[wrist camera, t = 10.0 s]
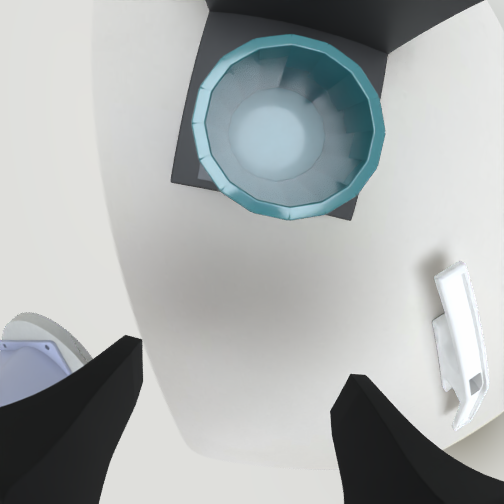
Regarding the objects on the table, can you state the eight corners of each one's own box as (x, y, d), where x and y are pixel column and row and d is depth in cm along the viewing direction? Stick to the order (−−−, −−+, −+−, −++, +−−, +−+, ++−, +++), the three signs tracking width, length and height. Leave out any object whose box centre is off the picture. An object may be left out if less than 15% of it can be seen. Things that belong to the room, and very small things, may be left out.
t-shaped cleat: (462, 235, 17) (511, 264, 12) (474, 394, 23) (495, 428, 18) (417, 262, 18) (461, 300, 12) (444, 413, 23) (463, 449, 18)
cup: (233, 195, 15) (214, 234, 9) (213, 93, 13) (177, 54, 7) (337, 178, 15) (394, 204, 8) (319, 77, 13) (363, 30, 6)
